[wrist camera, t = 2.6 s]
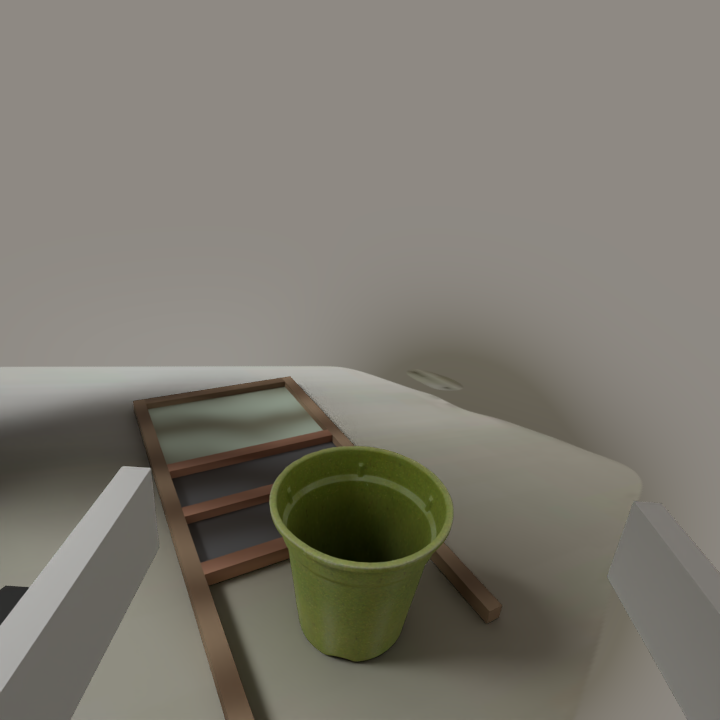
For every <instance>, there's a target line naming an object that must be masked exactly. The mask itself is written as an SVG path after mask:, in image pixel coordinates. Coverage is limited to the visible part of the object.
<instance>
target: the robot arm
mask: <svg viewBox="0 0 720 720" xmlns="http://www.w3.org/2000/svg"><path fill="white" fill-rule="evenodd" d="M158 549H159V539H158V530H157V520H156V510H155V501H154V491H153V481H152V472H151V468H145V467H130V466H122V467H121V468H120V470H119V471H118V472H117V474H116V475H115V476H114V478H113V479H112V480H111V481H110V483H109V484H108V485H107V487H106V488H105V489H104V491H103V492H102V493H101V495H100V496H99V497H98V498H97V500H96V501H95V502H94V504H93V505H92V506H91V508H90V509H89V510H88V512H87V513H86V514H85V515H84V517H83V518H82V519H81V521H80V522H79V523H78V525H77V526H76V527H75V529H74V530H73V531H72V532H71V534H70V535H69V536H68V538H67V539H66V540H65V542H64V543H63V544H62V546H61V547H60V548H59V549H58V551H57V552H56V553H55V555H54V556H53V557H52V559H51V560H50V561H49V563H48V564H47V565H46V566H45V568H44V569H43V570H42V572H41V573H40V574H39V576H38V577H37V578H36V579H35V581H34V582H33V583H32V585H31V586H30V587H17V586H5V587H3V588H2V589H1V590H0V720H70V719H71V717H72V716H73V714H74V712H75V710H76V708H77V706H78V704H79V702H80V700H81V698H82V696H83V694H84V692H85V690H86V688H87V687H88V685H89V683H90V681H91V679H92V677H93V675H94V673H95V671H96V669H97V667H98V665H99V663H100V661H101V659H102V657H103V656H104V654H105V652H106V650H107V648H108V646H109V644H110V642H111V640H112V638H113V636H114V634H115V632H116V630H117V628H118V627H119V625H120V623H121V621H122V619H123V617H124V615H125V613H126V611H127V609H128V607H129V605H130V603H131V601H132V599H133V597H134V596H135V594H136V592H137V590H138V588H139V586H140V584H141V582H142V580H143V578H144V576H145V574H146V572H147V570H148V568H149V566H150V565H151V563H152V561H153V559H154V557H155V555H156V553H157V551H158ZM607 578H608V580H609V581H610V583H611V585H612V587H613V588H614V590H615V592H616V593H617V595H618V597H619V599H620V601H621V603H622V604H623V606H624V608H625V610H626V611H627V613H628V615H629V617H630V618H631V620H632V622H633V624H634V626H635V627H636V629H637V631H638V633H639V635H640V636H641V638H642V640H643V642H644V643H645V645H646V647H647V649H648V650H649V652H650V654H651V656H652V658H653V659H654V661H655V663H656V665H657V666H658V668H659V670H660V672H661V674H662V675H663V677H664V679H665V681H666V683H667V684H668V686H669V688H670V690H671V691H672V693H673V695H674V697H675V699H676V700H677V702H678V704H679V706H680V707H681V709H682V711H683V713H684V715H685V716H686V718H687V720H720V573H719V571H718V570H717V569H716V568H715V567H714V566H713V564H712V563H711V562H710V561H709V559H708V558H707V557H706V556H705V555H704V553H703V552H702V551H701V550H700V549H699V548H698V546H697V545H696V544H695V543H694V542H693V540H692V539H691V538H690V537H689V536H688V534H687V533H686V532H685V531H684V530H683V528H682V527H681V526H680V525H679V524H678V523H677V521H676V520H675V519H674V518H673V516H672V515H671V514H670V513H669V512H668V510H667V509H666V508H665V507H664V506H663V505H662V503H656V502H641V501H633V504H632V507H631V510H630V513H629V516H628V518H627V521H626V524H625V527H624V530H623V533H622V535H621V538H620V541H619V544H618V547H617V550H616V552H615V555H614V558H613V561H612V564H611V567H610V569H609V572H608V575H607Z"/></svg>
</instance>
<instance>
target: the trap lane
mask: <svg viewBox="0 0 720 720" xmlns="http://www.w3.org/2000/svg"><path fill="white" fill-rule="evenodd" d="M133 405H134V411H135V415H136V418H137V422H138V425H139V428H140V432H141V435H142V438H143V442H144V445H145V449H146V452H147V455H148V459H149V462H150V466H151V469H152V472H153V476H154V479H155V482H156V486H157V489H158V493H159V496H160V499H161V503H162V506H163V510H164V513H165V516H166V520H167V523H168V526H169V530H170V533H171V537H172V540H173V543H174V547H175V550H176V554H177V557H178V560H179V564H180V567H181V570H182V574H183V577H184V581H185V584H186V587H187V591H188V594H189V598H190V601H191V604H192V608H193V611H194V614H195V618H196V621H197V625H198V628H199V631H200V635H201V638H202V642H203V645H204V648H205V652H206V655H207V658H208V662H209V665H210V669H211V672H212V675H213V679H214V682H215V686H216V689H217V692H218V696H219V699H220V702H221V706H222V709H223V713H224V716H225V719H226V720H254V718H253V715H252V712H251V709H250V706H249V703H248V700H247V697H246V694H245V691H244V689H243V686H242V683H241V680H240V677H239V674H238V671H237V668H236V665H235V662H234V659H233V656H232V653H231V651H230V648H229V645H228V642H227V639H226V636H225V633H224V630H223V627H222V624H221V621H220V618H219V616H218V613H217V610H216V607H215V604H214V601H213V598H212V595H211V592H210V589H209V585H212V584H215V583H218V582H221V581H224V580H227V579H230V578H233V577H236V576H239V575H242V574H245V573H248V572H251V571H253V570H256V569H259V568H262V567H265V566H268V565H271V564H274V563H277V562H280V561H283V560H286V559H289V558H290V556H289V550H288V548H287V546H286V544H285V542H284V539H283V537H282V535H281V534H280V533H279V531H278V530H277V528H276V526H275V524H274V522H273V520H272V516H271V512H270V505H269V500H270V498H269V497H270V493H271V489H272V486H273V484H274V482H275V480H276V479H277V477H278V476H279V475H280V474H281V473H282V472H283V470H284V469H285V468H286V467H287V466H289V465H290V464H291V463H293V462H294V461H296V460H298V459H300V458H302V457H303V456H305V455H308V454H310V453H313V452H317V451H320V450H323V449H327V448H332V447H342V446H354V445H353V444H352V443H351V442H350V441H349V439H348V438H347V437H346V436H345V435H344V434H343V433H342V432H341V431H340V430H339V429H338V428H337V426H336V425H335V424H334V423H333V422H332V421H331V420H330V419H329V418H328V417H327V416H326V415H325V414H324V412H323V411H322V410H321V409H320V408H319V407H318V406H317V405H316V404H315V403H314V402H313V401H312V400H311V398H310V397H309V396H308V395H307V394H306V393H305V392H304V391H303V390H302V389H301V388H300V387H299V385H298V384H297V383H296V382H295V381H294V380H293V379H292V378H291V377H283V378H277V379H270V380H264V381H258V382H251V383H245V384H238V385H232V386H226V387H219V388H213V389H206V390H200V391H194V392H187V393H181V394H174V395H168V396H162V397H155V398H149V399H142V400H136V401H133ZM430 559H431V560H432V561H433V562H434V563H435V565H436V566H437V567H438V568H439V569H440V570H441V572H442V573H443V574H444V575H445V576H446V577H447V579H448V580H449V581H450V582H451V583H452V584H453V585H454V587H455V588H456V589H457V590H458V591H459V592H460V594H461V595H462V596H463V597H464V598H465V599H466V601H467V602H468V603H469V604H470V605H471V606H472V607H473V609H474V610H475V611H476V612H477V613H478V614H479V616H480V617H481V618H482V619H483V620H484V621H485V623H486V624H487V623H489V622H491V621H493V620H495V619H497V618H499V615H500V611H501V608H502V605H501V603H500V602H499V601H498V600H497V599H496V598H495V597H494V596H493V595H492V594H491V593H490V592H489V591H488V589H487V588H486V587H485V586H484V585H483V584H482V583H481V582H480V581H479V580H478V579H477V578H476V576H475V575H474V574H473V573H472V572H471V571H470V570H469V569H468V568H467V567H466V566H465V565H464V564H463V562H462V561H461V560H460V559H459V558H458V557H457V556H456V555H455V554H454V553H453V552H452V551H451V550H450V548H449V547H448V546H447V545H446V544H445V543H444V542H443V544H442V545H441V546H440V547H439V548H438V549H437V550H436V551H435V552H434V553H433V554H432V556H431V558H430Z"/></svg>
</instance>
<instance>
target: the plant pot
mask: <svg viewBox="0 0 720 720" xmlns="http://www.w3.org/2000/svg"><path fill="white" fill-rule="evenodd" d="M269 498H270V500H269V505H270V512H271V516H272V520H273V522H274V524H275V526H276V528H277V530H278V531H279V533H280V534H281V535H282V537H283V539H284V542H285V544H286V546H287V548H288V550H289V556H290V562H291V569H292V575H293V581H294V588H295V595H296V603H297V609H298V614H299V620H300V624H301V628H302V630H303V632H304V634H305V636H306V638H307V639H308V640H309V642H310V643H311V644H312V645H313V646H314V647H315V648H316V649H318V650H319V651H320V652H322V653H324V654H326V655H333V656H338V657H342V658H345V659H349V660H351V661H364V660H368V659H372V658H374V657H377V656H379V655H381V654H382V653H384V652H385V651H386V650H388V649H389V648H390V647H391V646H392V645H393V644H394V643H395V642H396V640H397V639H398V637H399V635H400V633H401V631H402V628H403V625H404V622H405V619H406V616H407V613H408V610H409V608H410V605H411V602H412V599H413V597H414V594H415V591H416V589H417V586H418V583H419V580H420V578H421V575H422V572H423V569H424V567H425V564H426V563H427V562H428V560H429V559H430V558H431V556H432V554H433V553H434V552H435V551H436V550H437V549H438V548H439V547H440V546H441V545H442V544H443V542H444V541H445V539H446V538H447V536H448V534H449V532H450V529H451V526H452V522H453V503H452V500H451V497H450V494H449V493H448V491H447V489H446V487H445V486H444V485H443V483H442V482H441V481H440V480H439V478H438V477H437V476H436V475H435V474H434V473H432V472H431V471H430V470H428V469H427V468H425V467H424V466H422V465H421V464H419V463H418V462H416V461H414V460H412V459H410V458H407V457H405V456H403V455H400V454H398V453H395V452H392V451H388V450H384V449H379V448H374V447H364V446H342V447H332V448H327V449H323V450H320V451H317V452H313V453H310V454H308V455H305V456H303V457H302V458H300V459H298V460H296V461H294V462H293V463H291V464H290V465H289V466H287V467H286V468H285V469H284V470H283V472H282V473H281V474H280V475H279V476H278V477H277V479H276V480H275V482H274V484H273V486H272V489H271V493H270V497H269Z"/></svg>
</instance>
